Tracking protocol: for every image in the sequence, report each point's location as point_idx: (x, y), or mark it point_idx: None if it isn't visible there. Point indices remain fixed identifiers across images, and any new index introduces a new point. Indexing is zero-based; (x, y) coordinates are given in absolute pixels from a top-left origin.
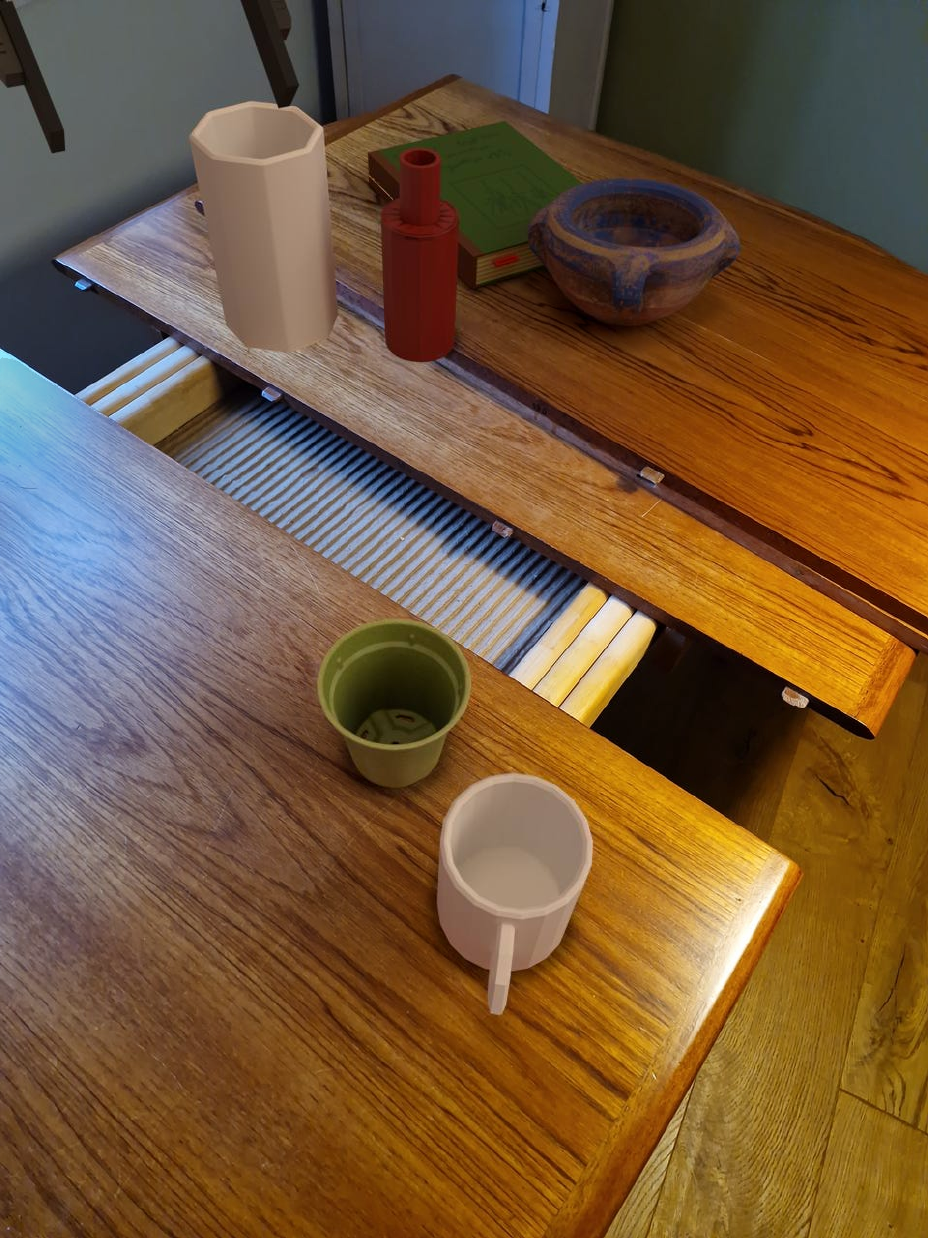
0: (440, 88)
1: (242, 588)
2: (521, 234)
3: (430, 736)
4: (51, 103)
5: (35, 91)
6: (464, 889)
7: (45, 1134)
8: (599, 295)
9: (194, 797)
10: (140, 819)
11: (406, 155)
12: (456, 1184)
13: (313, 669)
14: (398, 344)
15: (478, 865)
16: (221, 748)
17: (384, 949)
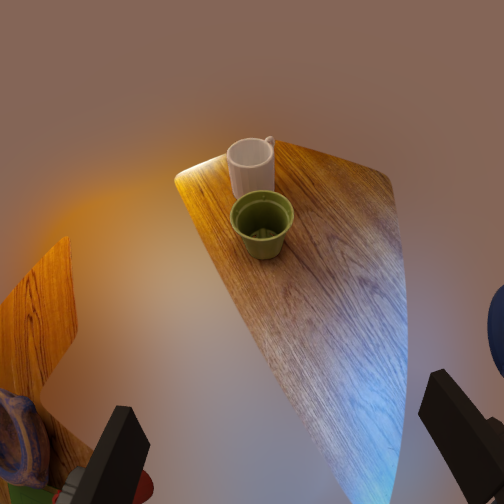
0: None
1: (302, 348)
2: (48, 498)
3: (258, 191)
4: (447, 389)
5: (464, 396)
6: (271, 146)
7: (384, 186)
8: (37, 422)
9: (343, 253)
10: (362, 252)
11: None
12: (293, 149)
13: (283, 290)
14: (147, 480)
15: None
16: (330, 268)
17: (292, 190)
